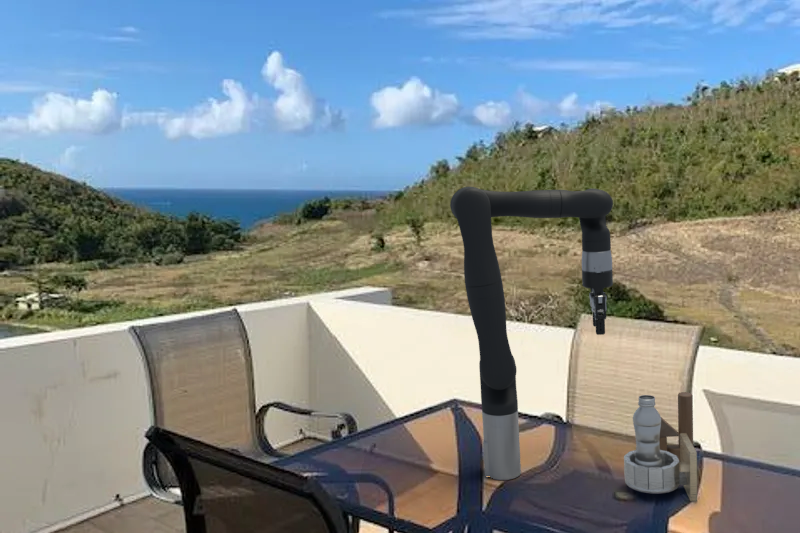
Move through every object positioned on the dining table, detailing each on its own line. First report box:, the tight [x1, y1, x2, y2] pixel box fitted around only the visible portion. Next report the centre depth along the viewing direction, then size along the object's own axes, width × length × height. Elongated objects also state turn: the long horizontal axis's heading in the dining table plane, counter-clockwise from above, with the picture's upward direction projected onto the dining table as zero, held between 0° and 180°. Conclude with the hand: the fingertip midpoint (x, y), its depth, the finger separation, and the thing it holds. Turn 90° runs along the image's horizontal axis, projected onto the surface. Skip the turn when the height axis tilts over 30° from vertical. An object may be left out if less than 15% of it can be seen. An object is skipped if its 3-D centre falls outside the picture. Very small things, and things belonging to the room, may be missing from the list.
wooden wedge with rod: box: [659, 391, 694, 463], centre depth 207 cm, size 4×11×18 cm, turn 87°
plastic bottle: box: [632, 394, 663, 467], centre depth 191 cm, size 6×7×20 cm
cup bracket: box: [623, 433, 698, 503], centre depth 191 cm, size 16×12×12 cm
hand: (598, 330), depth 204 cm, fingers open, 8 cm apart
